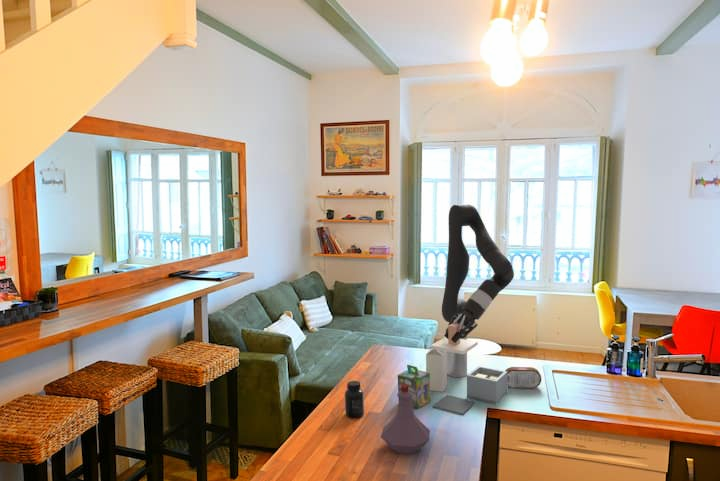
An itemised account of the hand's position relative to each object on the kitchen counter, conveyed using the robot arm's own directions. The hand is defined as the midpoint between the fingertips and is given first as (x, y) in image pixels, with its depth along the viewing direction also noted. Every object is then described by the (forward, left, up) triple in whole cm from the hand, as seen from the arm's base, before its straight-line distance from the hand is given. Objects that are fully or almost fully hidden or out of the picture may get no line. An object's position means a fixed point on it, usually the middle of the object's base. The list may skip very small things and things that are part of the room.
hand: (449, 339), depth 180 cm
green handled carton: (-13, -5, -26) cm, 29 cm away
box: (+8, +16, -26) cm, 32 cm away
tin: (+17, +31, -26) cm, 44 cm away
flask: (+1, -35, -26) cm, 43 cm away
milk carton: (-12, +12, -26) cm, 31 cm away
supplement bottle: (-26, -26, -26) cm, 45 cm away
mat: (+1, +1, -26) cm, 26 cm away
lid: (+1, +2, -3) cm, 4 cm away
